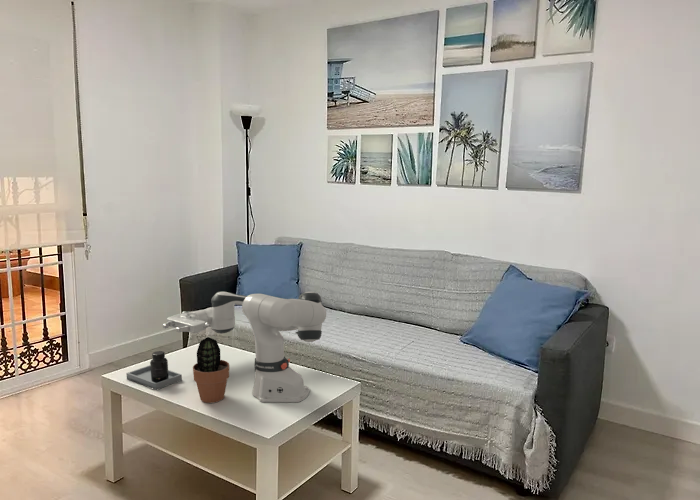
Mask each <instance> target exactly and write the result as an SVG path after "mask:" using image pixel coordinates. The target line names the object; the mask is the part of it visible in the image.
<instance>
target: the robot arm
mask: <svg viewBox="0 0 700 500" xmlns="http://www.w3.org/2000/svg"><path fill="white" fill-rule="evenodd" d="M321 297H322V296H321V295H320V294H319V293H317V292H315V291H306V292H303V293H301V294H300V295H299V296H298V298H282V297H277V296H272V295H269V294H266V293H265V294H263V293H250V294H249V295H242V294H237V293H233V292H227V291H217V292H216V293H215V294H214V295H213V296H212V297H211V301H210V303H211V306H210V307H207V308H205V309H199V310H193V311H189V310H188V311H182V312H181V313H177V314H174V315H172V316H171V315H170V316H168V317H167V318H166V321H165V322H166V323H165V322H164V323H163V324H162V328H163V329H169V328H173V329H176V330H175V331H176V332H177V333H182V332H183V333H184V332H188V333H191V334H199V333H200V332H204V331H206V329H208V328H210V329H211V330H212V331H214V332H215V333H216V334H227V333H230V332H231V331H233V330H234V329H235V327H236V317H235V316H236V315H235V306H236V305H237V306H241V309H242V313H243V315H244V316H245V318H247V320H248V322H249V325H250V327H251V330H252V334H253V338H254V345H255V346H254V347H255V348H254V349H255V351H254V352H255V358H254V363H253V365H254V373H255V375H254V383H253V388H252V392H251V394H252V396H254V398H257V399H258V401H259V402H260V403H261V402H262V403H299V402H302V401H304V400H306V398H307V397H308V396H309V394H310V393H311V392H310V388H309V386H308V385H305V383H304V379H303V376H302V374H300V373H299V372H297V371H296V370H294V369H293V368H292V367H290V362H291V359H290V358H288V359H287V358H286V356H285V342H284V341H285V339H284V338H283V337H284V336H283V335H282V333H281V332H291V331H295V332H294V333H295V334H297V337H298V338H299V339H300V340H301V341H303V342H306V343H313V342H316V341H318V340H319V341H320V339H321V337H322V333H323V331H322V327H323V323H324V322H325V320H326V319H327V310H326V308H325V306H323V304H322V301H323V300H322V298H321Z"/></svg>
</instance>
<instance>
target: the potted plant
mask: <svg viewBox="0 0 700 500" xmlns="http://www.w3.org/2000/svg"><path fill="white" fill-rule="evenodd" d="M192 375H193V381H194V382H195V383H196V387H197V391H198V394H199V395H198V396H199V399H200V401H201V402H202V403H207V404H212V403H214V404H215V403H218V402H221V401H222V400H224V398H225V395H226V389H227V388H226V387H227V383H228V379H229V378H230V362H228V361H226V360H223V359H221V348H220V346H219V343H218V342H217V340H216V339H214V338H212V337H209V336H207V337H205V338H204V339H201V340H200V341H199V344H198V347H197V350H196V363H195V364H194V365H193V366H192Z"/></svg>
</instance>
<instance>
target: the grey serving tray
mask: <svg viewBox="0 0 700 500" xmlns="http://www.w3.org/2000/svg"><path fill="white" fill-rule="evenodd" d="M168 375H169V379H166V380H163V381H161V382H158V383H155V382H152V381H151V368H150V364H149V365H146V366H143V367H141V368H138V369H134V370H132V371H129V372H126V379H127V380H128V381H132V382H133V383H136V382H137V383H136V384H139V385H142V386H144V387H148V388H150V389H152V388H153V390H154V391H155V390H156V391H157V389H158V390H160V389H162V388H165V387H167V386H170V385H172V384H175V383H178V382H182V380H183V379H182V378H183V377H182V374H181V373H178V372H175V371H173V370H169V369H168Z"/></svg>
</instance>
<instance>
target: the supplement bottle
mask: <svg viewBox="0 0 700 500" xmlns="http://www.w3.org/2000/svg"><path fill="white" fill-rule="evenodd" d="M168 362H169V361H168V359H167V357H166V354H165V351H164V350H155V351H154V352H152V353H151V360H150V362H149V363H150V364H149V365H150V368H151V381H152V382H155V383H158V382H161V381H163V380H166V379H169V375H168V370H169V363H168Z"/></svg>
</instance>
